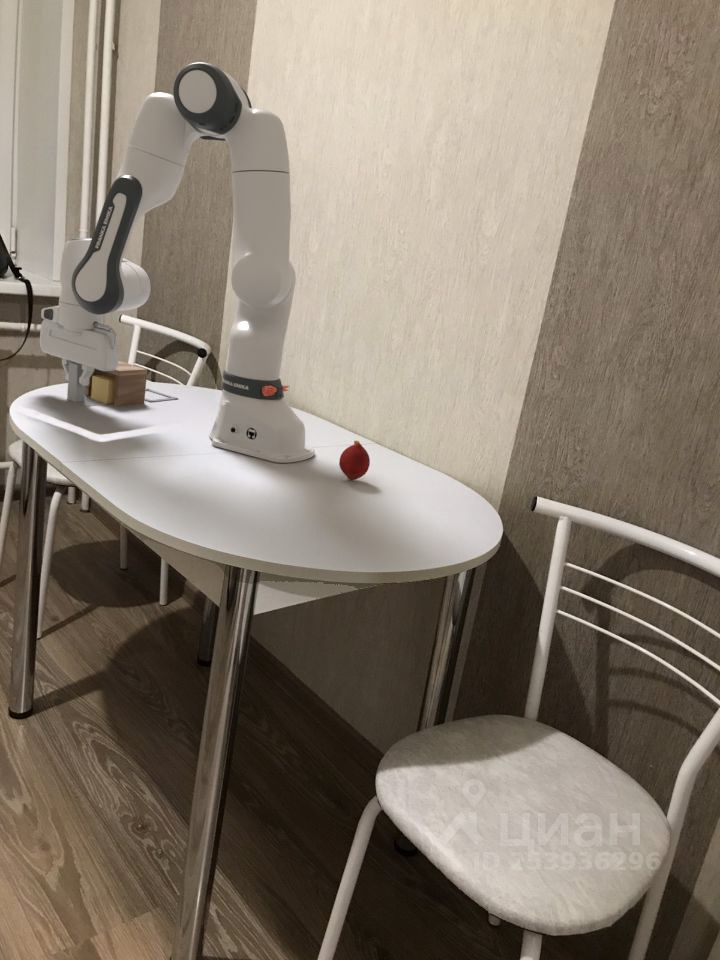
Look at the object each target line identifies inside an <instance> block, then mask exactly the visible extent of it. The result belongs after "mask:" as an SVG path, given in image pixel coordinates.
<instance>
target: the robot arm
mask: <svg viewBox="0 0 720 960" xmlns="http://www.w3.org/2000/svg"><path fill="white" fill-rule="evenodd" d="M172 92H173V93H172V94H171V93H166V92H154V93H151V94H148V95H147V96H146V97H145V98H144V100H143V102H142V103H141V106H140V107H139V110H138V113H137V114H136V118H135V120H134V121H133V122H134V123H133V126H132V128H131V132H130V134H129V138H128V142H127V145H126V149H125V152H124V156H123V160H122V162H121V165H120V168H119V171H118V174H117V176H116V178H115V180H114V181H113V182H112V185H111V187H110V188H109V191H108V193H107V195H106V197H105V199H104V203H103V206H102V208H101V211H100V214H99V217H98V219H97V222H96V225H95V229H94V231H93V235H92V237H89V238H88V237H75V238H71V239H69V240H67V241H66V242H65V245H64V247H63V250H62V254H61V261H60V262H61V263H60V273H59V274H60V275H59V277H60V278H59V281H60V284H61V285H60V286H61V292H60V295H59V297H58V298H59V299H58V305H55V306H50V307H44V308H42V309H41V311H40V312H41V314H40V316H41V319H43V320H42V322H41V325H40V330H39V331H40V332H39V333H40V334H39V346H40V349H41V351H42V353H45V354H48V355H51V356H54V357H58V358H60V359H61V365H62V367H63V370H64V373H65V374H64V379H65V381H68V376H69V362H76V363H79V364H82V370H84V371H83V373H82V375H81V376H78V384H80V385H83V386H88V385H89V378H90V377H91V375H92V373H93V372H94V368H95V369H98V370H101V371H114V370H116V368H117V367H118V361H119V344H118V339H117V338H118V337H117V336H118V335H117V333H116V331H115V329H113V327H112V326H111V325H107V324H104V315H106V314H109V313H114V312H122V311H123V312H124V311H129V310H130V311H131V310H134V309H137V308H140V307H142V306H144V305H145V304H146V303H148V301H149V299H150V297H151V293H152V281H151V278H150V276H149V274H148V272H147V270H145V269H144V268H143V267H142V266H140V265H138V264H136V263H133V262H132V261H130V260H128V259H127V258H124V257H125V254H126V250H127V248H128V247H129V246H128V245H129V242H130V241H131V238H132V234H133V232H134V229H135V227H136V224H137V223H138V222H139V220H140V219H141V218H142V217H143V216H144V215H145V214H147V213H148V212H150V211H151V210H153V209H155V208H156V207H160V206H163V205H164V204H166V203H167V202H169V201H170V200H172V199H173V197H174V196H175V194H176V192H177V190H178V188H179V186H180V183H181V181H182V179H183V175H184V171H185V168H186V165H187V160H188V156H189V152H190V150H191V147H192V145H193V143H194V142H195V141H196V140H197V139H198V138H200V139H201V140H206V141H207V140H209V141H221V142H222V141H223V142H226V143H227V145H228V148H229V152H230V160H231V161H230V162H231V163H230V164H231V165H230V166H231V167H230V169H231V186H232V187H231V188H232V190H231V191H232V206H233V207H232V209H233V210H232V211H233V212H232V213H233V224H232V225H233V226H232V227H233V228H232V239H231V240H232V242H231V275H230V277H231V278H230V280H231V281H230V282H231V287H232V291H233V292H234V294H235V295H236V297H237V298H238V299H237V303H236V308H235V313H234V317H233V320H232V324H231V328H230V332H229V338H228V339H229V340H228V348H227V354H226V355H227V356H226V363H225V364H226V365H225V369H224V370H223V371H222V378H221V383H220V384H221V386H220V387H221V397H220V402H219V407H218V409H217V414H216V417H215V421H214V423H213V425H212V428H211V431H210V433H209V438H210V439H211V440H212V442H211V445H212V446H214V447H218V448H221V449H224V450H230V451H232V452H236V453H240V454H242V455H248V456H250V457H255V458H258V459H262V460H266V461H269V462H274V463H282V464H283V463H295V462H300V461H304V460H307V459H308V460H309V459H310V458H312V457H313V456H314V455H315V448H313V447H311V446H309V445H307V444H306V428H305V424H304V422H303V421H302V419H300V417H299V416H298V415H297V413H295V411H294V410H293V409H292V408H291V406H290V404H289V403H287V401H286V400H285V399H284V397H285V395H284V392H288V391H289V389H288V388H289V387H290V385H283V384H282V380H281V378H280V376H281V375H280V373H281V366H282V360H283V353H284V345H285V339H286V334H287V330H288V325H289V320H290V314H291V309H292V304H293V299H294V293H295V286H296V279H297V277H296V276H297V275H296V270H295V268H294V266H293V264H292V262H291V261H290V239H291V238H290V236H291V220H292V213H291V212H292V209H291V207H292V206H291V205H292V204H291V201H292V200H291V174H290V173H291V172H290V158H289V157H290V156H289V149H288V143H287V141H288V140H287V136H286V131H285V126H284V124H283V122H282V120H281V118H280V117H279V116H278V115H277V114H275V113H273V112H272V111H269V110H267V109H263V108H253V107H252V102H251V99H250V98H249V95H248V93H247V92H246V90H244V88H243V87H241V86H240V85H239V84H238V82H237V81H236V80H235V79H234V78H233V77H232V76H231V75H230V74H228V73H227V72H225V71H223V70H222V69H221V68H219V67H218V66H217V65H214V64H212V63H209V62H208V63H207V62H200V61H199V62H192V63H190V64H188V65H186V66H184V68H182V69H181V70H180V72H179V73H178V74H177V76H176V78H175V81H174V84H173V91H172Z"/></svg>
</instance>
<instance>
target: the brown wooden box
mask: <svg viewBox="0 0 720 960" xmlns="http://www.w3.org/2000/svg"><path fill="white" fill-rule="evenodd" d="M97 375H113V376H116V382H115V395H114V404H113V406H115V407H122V406H132V405H141V404H145V398H146V391H145V389H147V388H146V387H147V376H148V369H147V368H143V367H140V366H137V365H134V364H131V363H127V362H124V361H120V360H118V367H117V368H116V370H114V371H101V370H98V369H95V368H94V372H93V373H92V375H91V377H90V378H89V385H88V386H86V388H85V397H91V391H92V376H97Z"/></svg>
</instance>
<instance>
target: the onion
mask: <svg viewBox="0 0 720 960" xmlns="http://www.w3.org/2000/svg"><path fill="white" fill-rule="evenodd" d="M369 455H370V454H369V452H368V451H367V450H366V449H365V447H363V445H362V444H361V443H360V441H359V440H354V441H353V445H350V446H347V447H346V448H345V449H344V450H343V451H342V452H341V454H340V457H339V461H338V462H339V464H338V465H339V468H340V470H341V472H342V473H343V474H344V475H345V476H346V478H347V479H348V481H351V482H353V481H355V480H358V479H360V478H362V477H363V476H364V475H365V474H366V473H368V471H369V467H370V463H371V459H370V456H369Z"/></svg>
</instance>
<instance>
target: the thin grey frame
mask: <svg viewBox="0 0 720 960" xmlns="http://www.w3.org/2000/svg"><path fill="white" fill-rule="evenodd" d="M145 392H149V393H150V392H151V393H153V394H156V395H160V396H162V397H165V398H156V399H150V398H146V397H145V400H144V402H148V403H157V402H159V403H160V402H168V401H175V400H179V398H178V397H176V396H172V395H170V394H166V393H164V392H160V391H157V390H153V389H151V388H146V389H145Z"/></svg>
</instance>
